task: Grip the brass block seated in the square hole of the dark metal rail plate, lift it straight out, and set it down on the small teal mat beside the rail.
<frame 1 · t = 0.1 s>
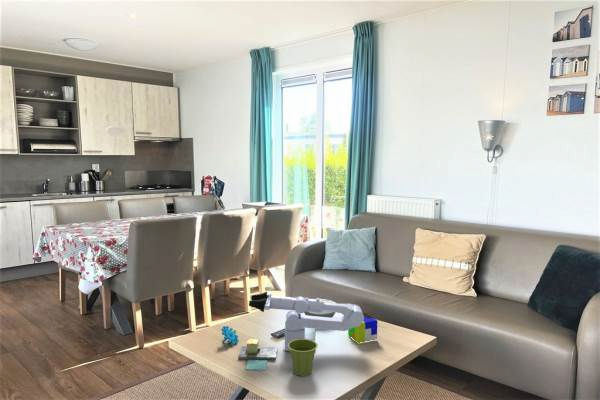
hand: (250, 300, 187), 22 cm above the table, tool horizontal, fingers open, 7 cm apart
bowl: (319, 319, 223), on the table
plant pot: (302, 372, 167), on the table
teal mat: (256, 365, 172), on the table
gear: (230, 342, 194), on the table
puzzle toy: (362, 338, 199), on the table
brass block: (252, 354, 181), resting in rail plate
rail plate: (258, 354, 181), on the table
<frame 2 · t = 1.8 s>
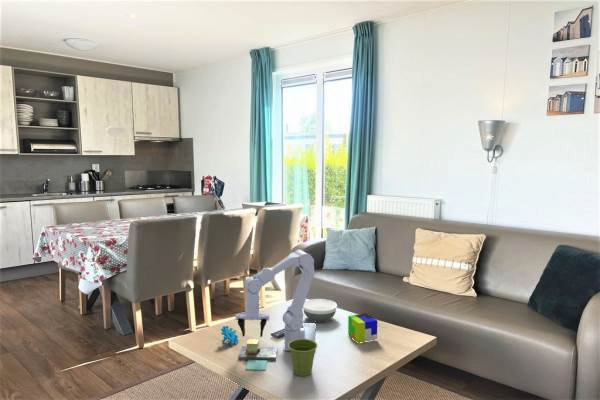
hand: (252, 335, 181), 9 cm above the table, tool pointing down, fingers open, 7 cm apart
nothing on the table moved.
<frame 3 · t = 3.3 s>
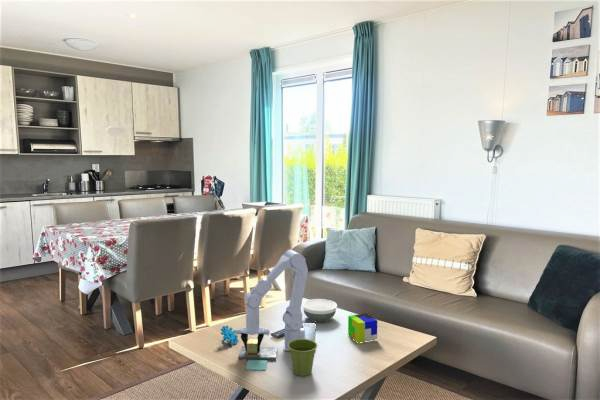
hand: (252, 350, 181), 2 cm above the table, tool pointing down, fingers closed on brass block, 4 cm apart
brass block: (252, 354, 181), resting in rail plate, touching gripper
everything else where it was.
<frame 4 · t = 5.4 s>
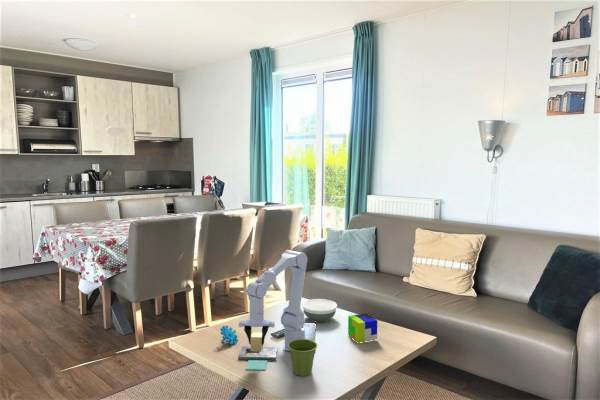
hand: (256, 343, 171), 9 cm above the table, tool pointing down, fingers closed on brass block, 4 cm apart
brass block: (256, 348, 172), point 7 cm above the table, touching gripper
everything else where it was.
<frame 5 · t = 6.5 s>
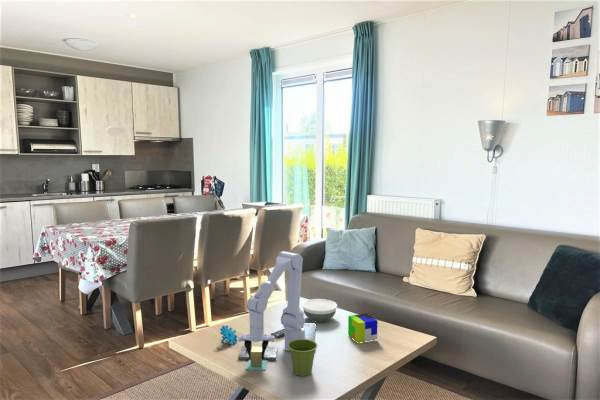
hand: (256, 357, 172), 3 cm above the table, tool pointing down, fingers closed on brass block, 4 cm apart
brass block: (256, 363, 172), point 1 cm above the table, touching gripper
everything else where it was.
when the fingers open (3 cm above the table, at t = 7.4 s): brass block stays where it is, resting on teal mat.
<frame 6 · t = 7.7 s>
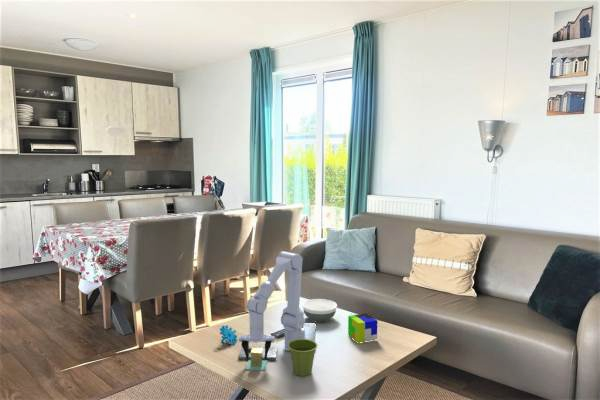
hand: (256, 358, 172), 3 cm above the table, tool pointing down, fingers open, 7 cm apart
brass block: (256, 364, 172), resting on teal mat
everything else where it was.
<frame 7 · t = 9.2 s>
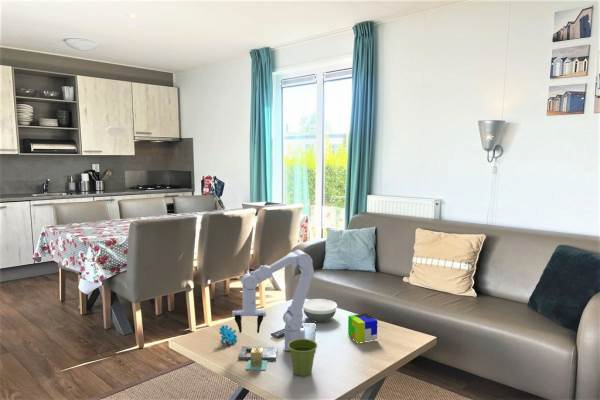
hand: (249, 332, 181), 10 cm above the table, tool pointing down, fingers open, 7 cm apart
nothing on the table moved.
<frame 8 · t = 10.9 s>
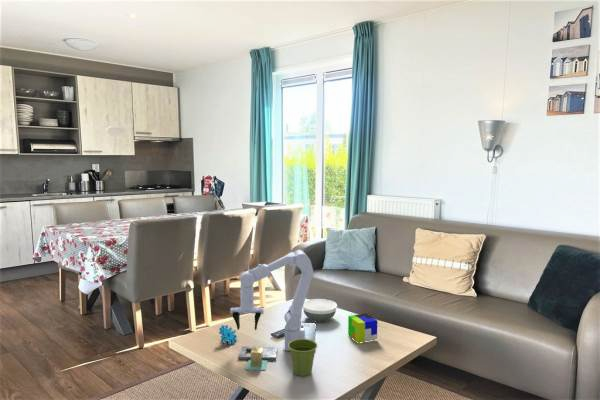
hand: (247, 328, 185), 10 cm above the table, tool pointing down, fingers open, 7 cm apart
at the end: brass block inside the target area on the teal mat (0.2 cm from its centre), point 0.4 cm above the teal mat's base; brass block tilted 0°; the gripper is holding nothing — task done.
